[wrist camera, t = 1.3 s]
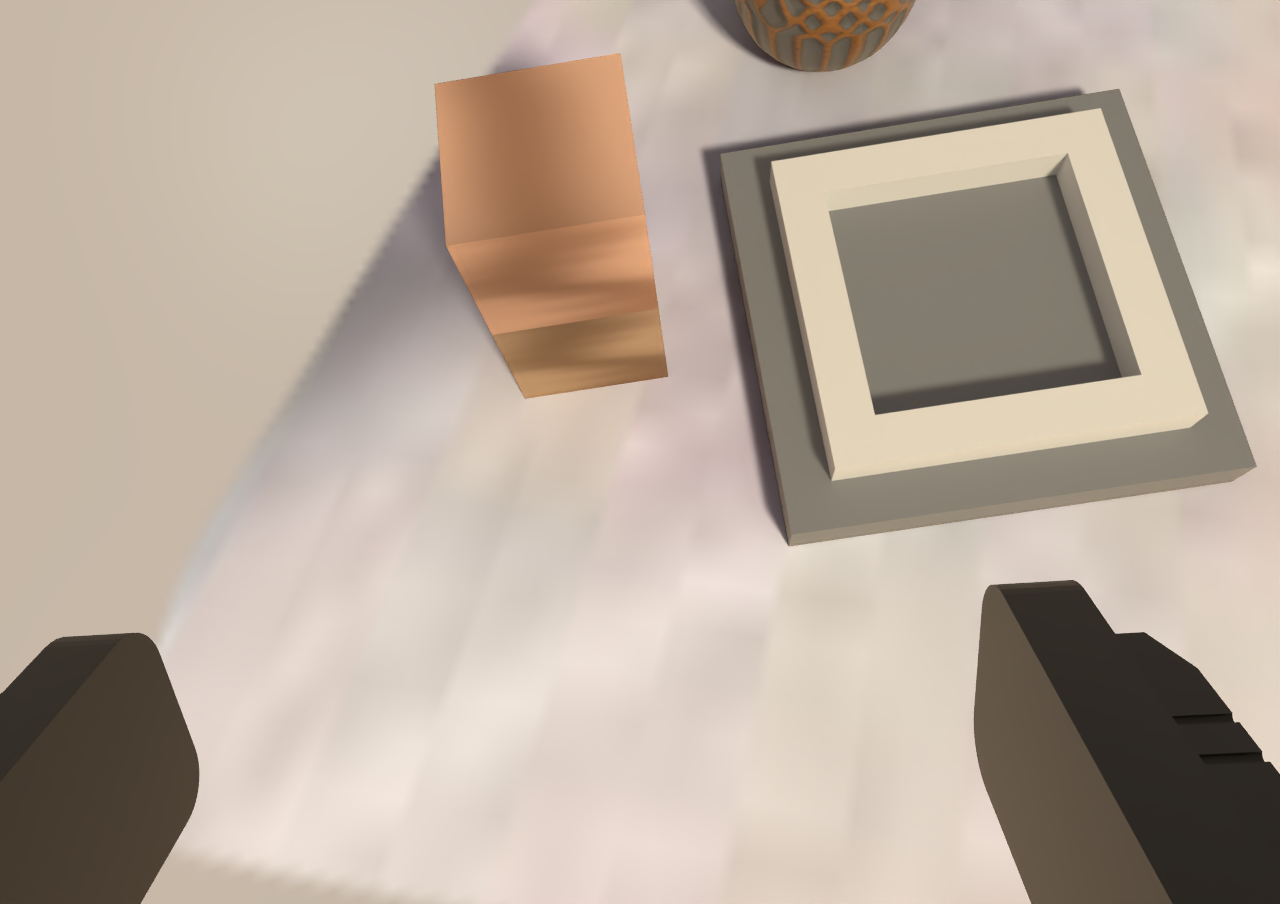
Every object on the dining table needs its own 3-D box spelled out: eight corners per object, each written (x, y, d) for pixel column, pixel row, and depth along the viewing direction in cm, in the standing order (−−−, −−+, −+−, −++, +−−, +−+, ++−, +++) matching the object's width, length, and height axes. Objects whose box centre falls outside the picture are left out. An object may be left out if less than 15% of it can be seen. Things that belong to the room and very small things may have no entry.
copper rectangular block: (649, 250, 35) (620, 53, 26) (668, 376, 33) (644, 214, 24) (513, 272, 35) (434, 83, 26) (525, 398, 33) (445, 246, 24)
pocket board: (1103, 116, 35) (1132, 64, 32) (1232, 481, 30) (1278, 453, 28) (720, 178, 36) (720, 131, 33) (789, 546, 31) (794, 524, 28)
